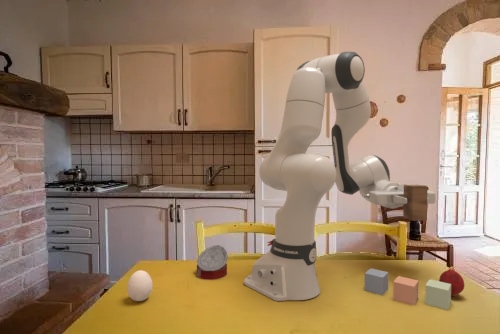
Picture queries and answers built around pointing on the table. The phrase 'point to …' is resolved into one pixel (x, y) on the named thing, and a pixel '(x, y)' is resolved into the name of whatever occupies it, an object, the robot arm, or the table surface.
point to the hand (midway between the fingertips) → (417, 200)
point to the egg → (139, 285)
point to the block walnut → (415, 202)
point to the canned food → (212, 263)
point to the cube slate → (376, 281)
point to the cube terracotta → (405, 290)
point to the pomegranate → (453, 281)
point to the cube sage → (438, 294)
